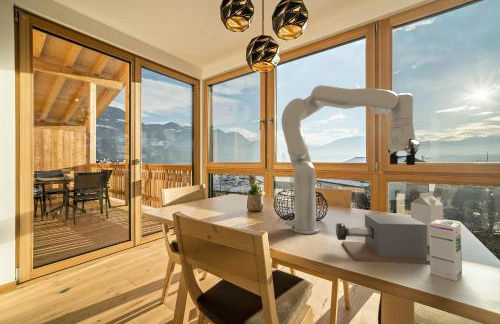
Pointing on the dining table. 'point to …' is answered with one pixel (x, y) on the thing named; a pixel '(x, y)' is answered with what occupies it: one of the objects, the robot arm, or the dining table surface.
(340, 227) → the shaft
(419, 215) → the milk carton
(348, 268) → the dining table surface
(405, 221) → the block
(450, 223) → the syrup box
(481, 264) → the dining table surface
